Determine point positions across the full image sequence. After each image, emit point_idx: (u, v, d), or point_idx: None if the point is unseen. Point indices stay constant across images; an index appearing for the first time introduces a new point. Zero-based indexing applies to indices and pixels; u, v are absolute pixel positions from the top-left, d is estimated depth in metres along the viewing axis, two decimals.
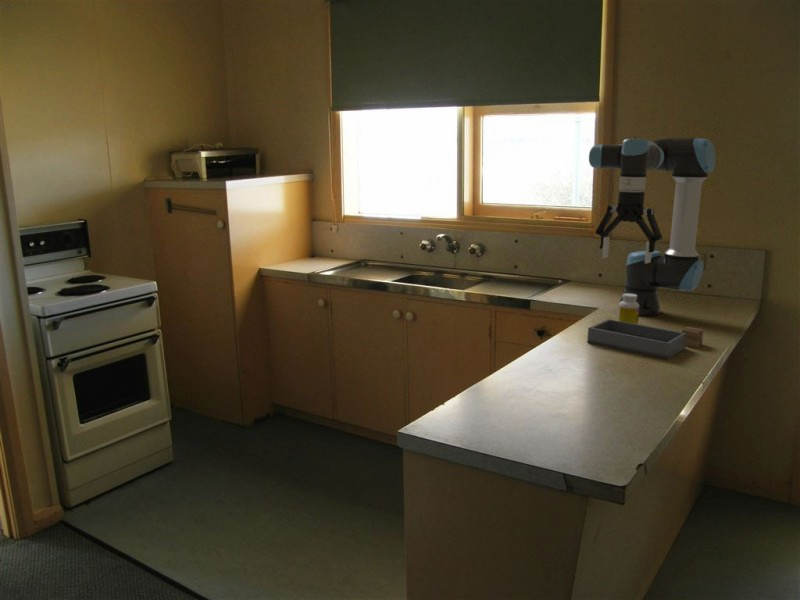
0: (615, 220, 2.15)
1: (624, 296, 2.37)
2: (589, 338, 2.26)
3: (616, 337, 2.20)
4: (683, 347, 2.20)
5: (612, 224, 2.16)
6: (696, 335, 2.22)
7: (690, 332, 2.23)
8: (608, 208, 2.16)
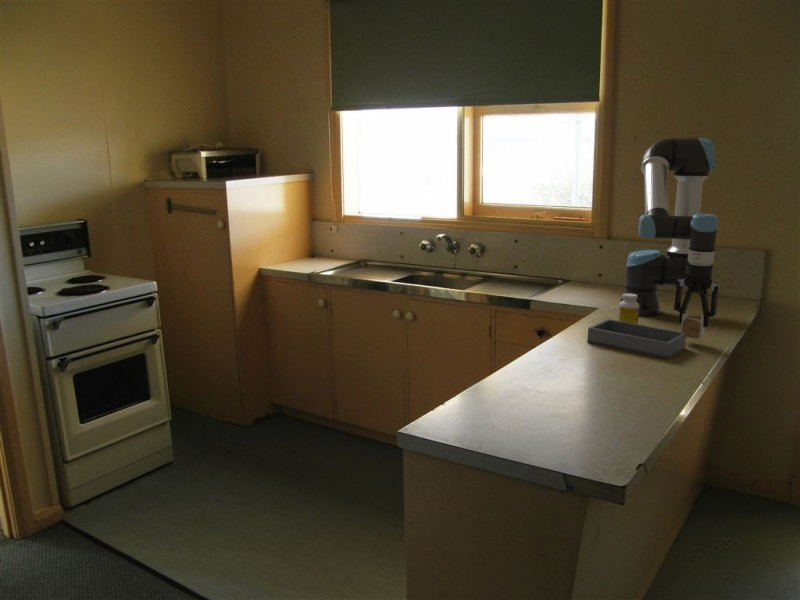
0: (687, 293, 2.23)
1: (624, 296, 2.37)
2: (589, 338, 2.26)
3: (616, 337, 2.20)
4: (683, 347, 2.20)
5: (686, 298, 2.23)
6: (697, 326, 2.21)
7: (691, 323, 2.23)
8: (676, 283, 2.24)
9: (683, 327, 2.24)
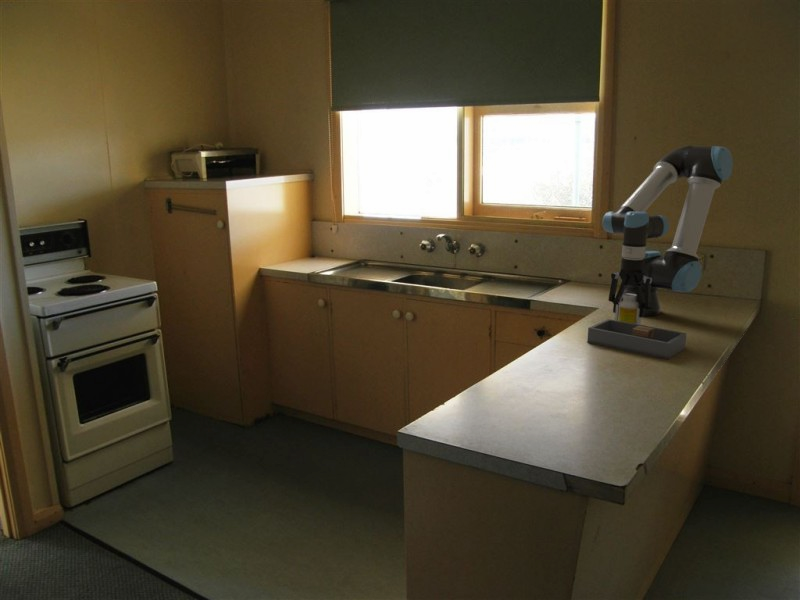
0: (621, 286, 2.37)
1: (624, 296, 2.37)
2: (589, 338, 2.26)
3: (616, 337, 2.20)
4: (683, 347, 2.20)
5: (620, 290, 2.38)
6: (646, 334, 2.18)
7: (640, 331, 2.20)
8: (612, 276, 2.39)
9: (632, 335, 2.21)
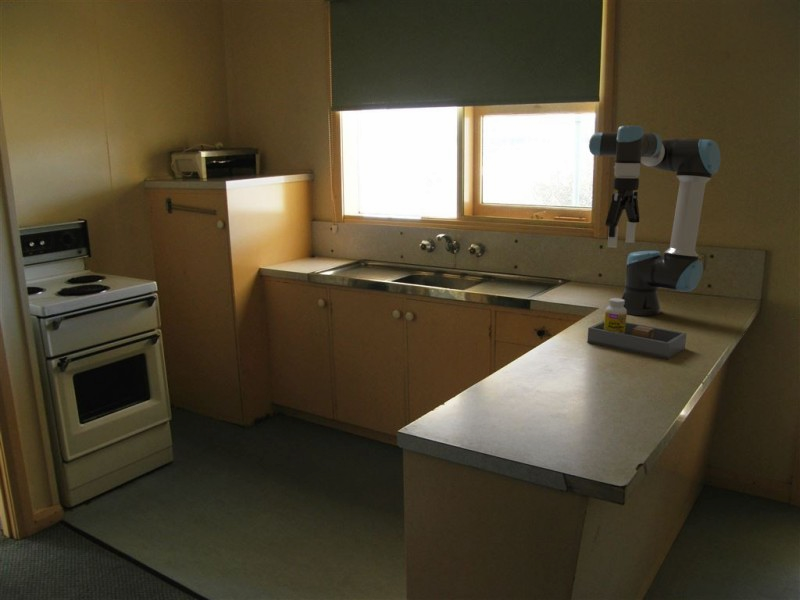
0: None
1: None
2: (589, 338, 2.26)
3: (616, 337, 2.20)
4: (683, 347, 2.20)
5: None
6: (646, 334, 2.18)
7: (640, 331, 2.20)
8: None
9: (632, 335, 2.21)
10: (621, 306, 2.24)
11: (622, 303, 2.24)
